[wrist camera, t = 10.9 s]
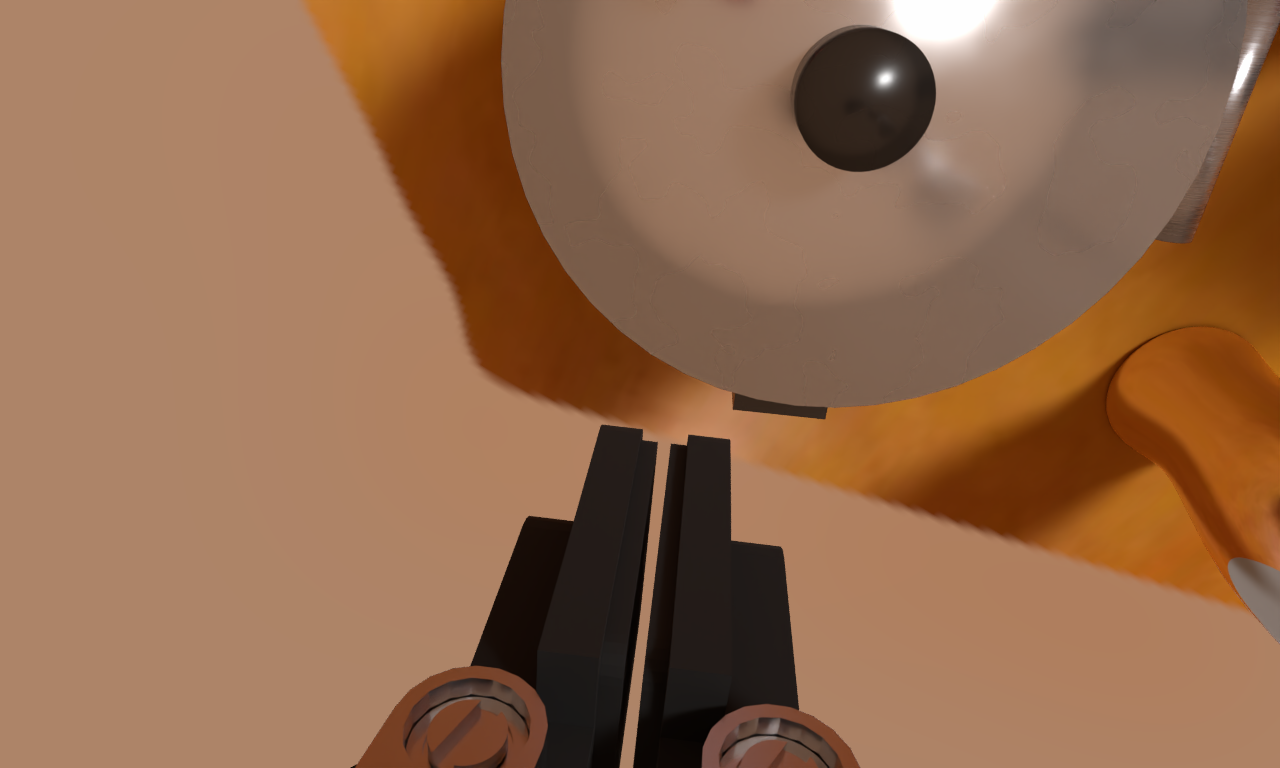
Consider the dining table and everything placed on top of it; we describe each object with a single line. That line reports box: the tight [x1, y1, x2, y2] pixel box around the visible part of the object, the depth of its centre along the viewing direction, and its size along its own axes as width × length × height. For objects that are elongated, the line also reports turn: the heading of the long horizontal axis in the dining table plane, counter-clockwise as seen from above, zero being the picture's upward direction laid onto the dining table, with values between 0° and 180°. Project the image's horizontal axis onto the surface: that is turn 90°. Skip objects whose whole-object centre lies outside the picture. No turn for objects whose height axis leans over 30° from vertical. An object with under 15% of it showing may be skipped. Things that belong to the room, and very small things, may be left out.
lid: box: [501, 0, 1280, 408], centre depth 20 cm, size 18×17×4 cm
